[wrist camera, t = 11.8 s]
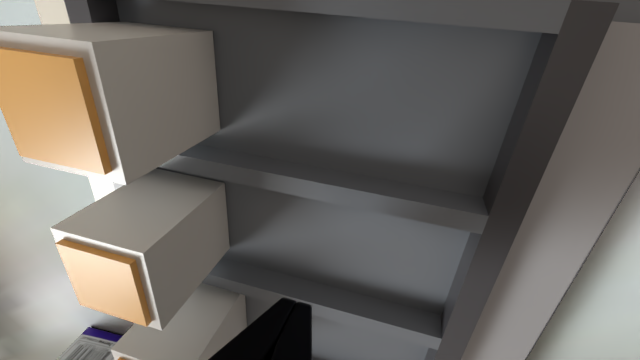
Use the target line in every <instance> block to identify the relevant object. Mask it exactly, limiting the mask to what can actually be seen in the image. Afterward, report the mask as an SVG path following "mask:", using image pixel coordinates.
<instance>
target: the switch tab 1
mask: <svg viewBox="0 0 640 360" xmlns="http://www.w3.org/2000/svg"><path fill="white" fill-rule="evenodd" d="M0 108H1V110H2V113H3V115H4V118H5V120H6V122H7V125H8V127H9V130H10V132H11V135H12V137H13V140H14V142H15V145H16V147H17V150H18V152H19V155H20V156H22V159H23V161H24V162H26V163H30V164H35V165H39V166H44V167H48V168H52V169H57V170H61V171H65V172H70V173H74V174H79V175H83V176H87V177H92V178H96V179H101V180H105V181H109V182H114V183H118V184H123V185H128V184H130V183H131V182H133V181H135V180H137V179H138V178H140V177H142V176H143V175H145V174H147V173H148V172H150V171H152V170H154V169H155V168H157V167H159V166H160V165H162V164H164V163H165V162H167V161H169V160H171V159H172V158H174V157H176V156H177V155H179V154H181V153H182V152H184V151H186V150H188V149H189V148H191V147H193V146H194V145H196V144H198V143H199V142H201V141H203V140H205V139H206V138H208V137H210V136H211V135H213V134H215V133H216V132H218V131H220V118H219V106H218V93H217V81H216V68H215V55H214V43H213V31H209V30H200V29H190V28H181V27H171V26H161V25H152V24H142V23H133V22H102V23H74V24H46V25H17V26H0Z"/></svg>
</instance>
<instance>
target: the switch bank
mask: <svg viewBox="0 0 640 360" xmlns="http://www.w3.org/2000/svg"><path fill="white" fill-rule="evenodd" d="M34 1H35V4H36V8H37V11H38V14H39V18H40V21H41V24H42V25H46V24H74V23H102V22H133V23H142V24H152V25H161V26H171V27H181V28H190V29H200V30H209V31H213V43H214V55H215V68H216V81H217V93H218V106H219V118H220V131H218V132H216V133H215V134H213V135H211V136H210V137H208V138H206V139H205V140H203V141H201V142H199V143H198V144H196V145H194V146H193V147H191V148H189V149H188V150H186V151H184V152H182V153H181V154H179V155H177V156H176V157H174V158H172V159H171V160H169V161H167V162H165V163H164V164H162V165H160V166H159V167H157V168H156V169H161V170H166V171H170V172H175V173H180V174H185V175H189V176H194V177H199V178H204V179H208V180H213V181H218V182H223V183H225V194H226V206H227V219H228V232H229V244H230V248H229V249H228V251H227V252H226V253H225V254H224V256H223V257H222V258H221V259H220V260H219V262H218V263H217V264H216V265H215V267H214V268H213V269H212V270H211V271H210V273H209V274H208V275H207V276H206V278H205V279H204V280H203V281H202V283H204V284H207V285H211V286H214V287H218V288H221V289H225V290H228V291H232V292H235V293H239V294H242V295H245V301H246V319H247V326H249V325H250V324H251V323H252V322H253V321H255V320H256V319H257V318H258V317H259V316H260V315H262V314H263V313H264V312H265V311H266V310H268V309H269V308H270V307H271V306H272V305H274V304H275V303H276V302H277V301H278V300H280V299H281V298H283V297H285V298H289V299H292V300H295V301H296V302H303V303H307V304H310V305H311V306H312V360H526V359H527V357H528V356H529V354H530V352H531V351H532V349H533V347H534V346H535V344H536V342H537V341H538V339H539V337H540V336H541V334H542V332H543V331H544V329H545V327H546V326H547V324H548V322H549V321H550V319H551V317H552V316H553V314H554V312H555V311H556V309H557V307H558V306H559V304H560V302H561V301H562V299H563V297H564V296H565V294H566V292H567V291H568V289H569V287H570V286H571V284H572V282H573V281H574V279H575V277H576V276H577V274H578V272H579V271H580V269H581V267H582V266H583V264H584V262H585V261H586V259H587V257H588V256H589V254H590V252H591V251H592V249H593V247H594V246H595V244H596V242H597V241H598V239H599V237H600V236H601V234H602V232H603V231H604V229H605V227H606V226H607V224H608V222H609V221H610V219H611V218H612V216H613V214H614V213H615V211H616V209H617V208H618V206H619V204H620V203H621V201H622V199H623V198H624V196H625V194H626V193H627V191H628V189H629V188H630V186H631V184H632V183H633V181H634V179H635V178H636V176H637V174H638V173H639V171H640V0H34ZM88 178H89V182H90V185H91V188H92V191H93V195H94V198H95V201H97V200H99V199H101V198H102V197H104V196H106V195H108V194H109V193H111V192H113V191H114V190H116V189H118V188H120V187H121V186H123V184H118V183H114V182H109V181H105V180H101V179H96V178H92V177H88Z"/></svg>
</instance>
